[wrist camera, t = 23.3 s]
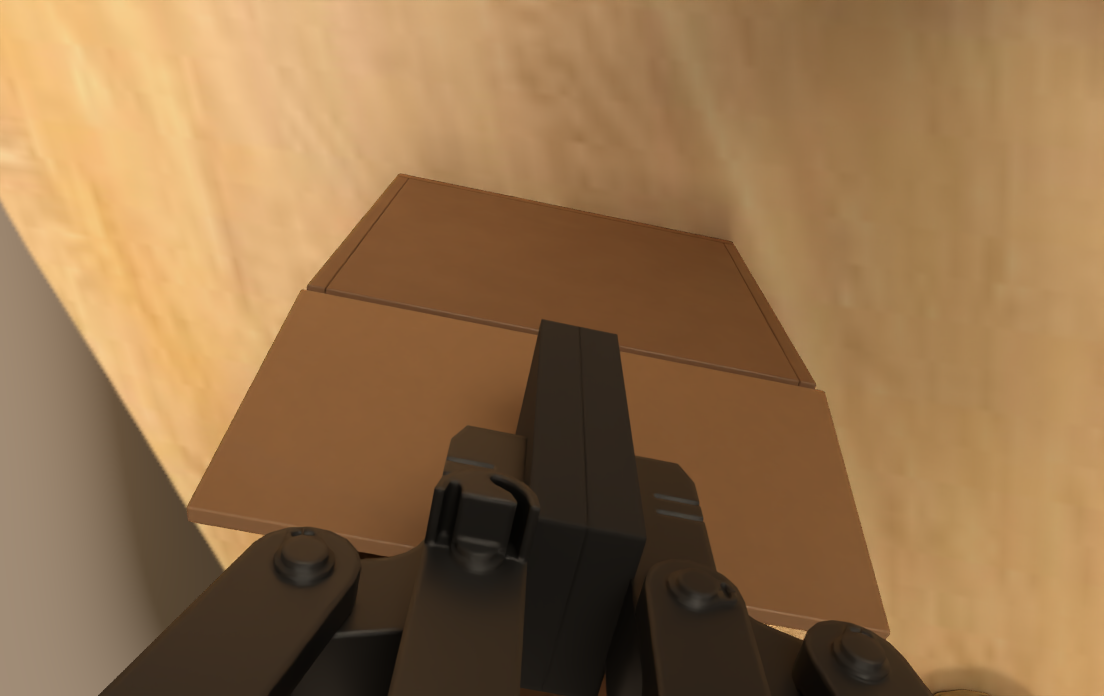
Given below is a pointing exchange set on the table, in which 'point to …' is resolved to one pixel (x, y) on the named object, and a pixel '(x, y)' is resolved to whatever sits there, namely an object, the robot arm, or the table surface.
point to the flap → (495, 403)
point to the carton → (561, 279)
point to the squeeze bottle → (961, 693)
